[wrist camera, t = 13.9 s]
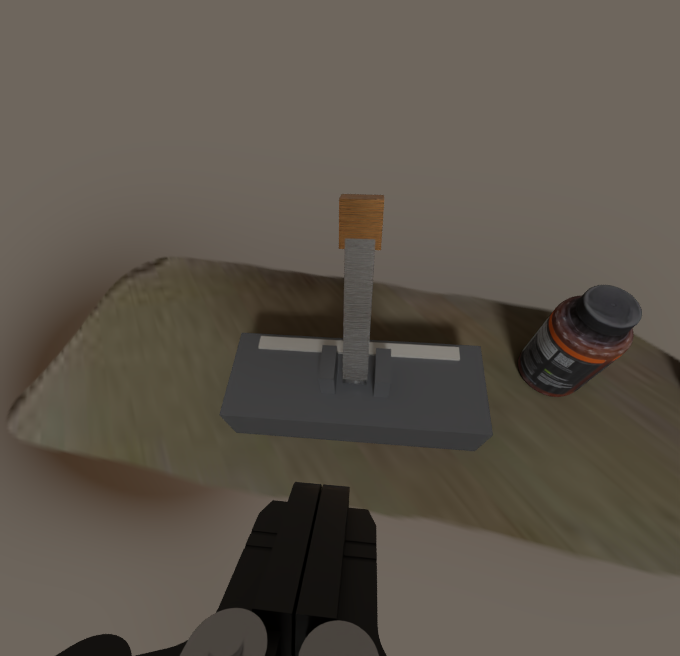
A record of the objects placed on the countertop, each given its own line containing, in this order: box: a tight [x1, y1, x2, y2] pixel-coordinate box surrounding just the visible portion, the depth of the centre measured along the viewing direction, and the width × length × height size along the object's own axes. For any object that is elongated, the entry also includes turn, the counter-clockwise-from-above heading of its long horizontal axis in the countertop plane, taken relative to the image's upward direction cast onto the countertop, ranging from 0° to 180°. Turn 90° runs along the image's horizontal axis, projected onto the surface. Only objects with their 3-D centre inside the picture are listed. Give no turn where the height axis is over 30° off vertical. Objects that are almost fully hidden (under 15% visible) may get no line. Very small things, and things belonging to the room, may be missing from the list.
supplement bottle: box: [518, 285, 642, 397], centre depth 31 cm, size 6×6×11 cm
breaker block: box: [220, 333, 493, 451], centre depth 32 cm, size 22×8×8 cm, turn 85°
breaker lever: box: [339, 194, 384, 385], centre depth 27 cm, size 3×2×15 cm
